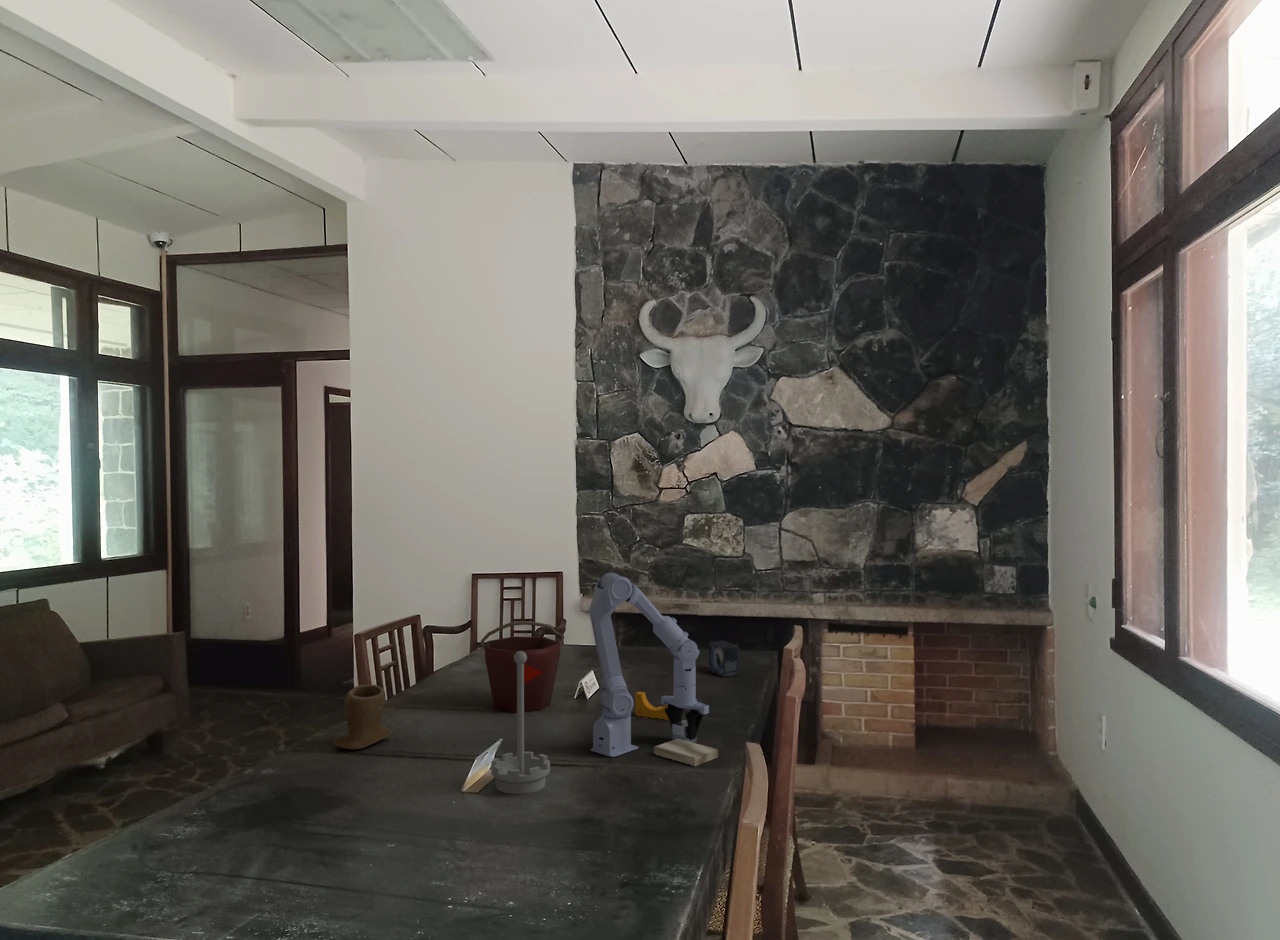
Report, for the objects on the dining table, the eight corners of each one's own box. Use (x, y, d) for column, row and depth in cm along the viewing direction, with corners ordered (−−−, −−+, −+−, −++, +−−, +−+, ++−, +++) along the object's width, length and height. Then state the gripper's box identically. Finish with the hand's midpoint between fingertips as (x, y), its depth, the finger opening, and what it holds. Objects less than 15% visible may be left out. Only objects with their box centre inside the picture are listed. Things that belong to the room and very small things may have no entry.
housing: (684, 746, 222) (684, 727, 222) (672, 743, 225) (672, 723, 225) (696, 742, 226) (696, 722, 226) (684, 738, 229) (684, 719, 229)
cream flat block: (695, 766, 207) (694, 758, 207) (654, 754, 216) (654, 746, 216) (718, 757, 214) (718, 748, 214) (677, 745, 223) (677, 737, 223)
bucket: (568, 697, 270) (568, 616, 270) (555, 717, 248) (554, 629, 248) (491, 695, 273) (491, 615, 273) (471, 715, 251) (470, 628, 251)
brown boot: (362, 756, 215) (362, 695, 215) (327, 749, 221) (326, 689, 221) (404, 738, 229) (404, 681, 229) (370, 732, 234) (370, 677, 234)
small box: (707, 671, 304) (707, 641, 304) (723, 669, 307) (723, 639, 307) (722, 678, 295) (722, 647, 295) (739, 676, 297) (739, 645, 297)
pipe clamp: (679, 717, 249) (679, 694, 249) (673, 721, 245) (673, 698, 245) (641, 712, 254) (641, 690, 254) (635, 716, 250) (635, 693, 250)
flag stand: (494, 798, 188) (494, 659, 188) (488, 777, 200) (488, 647, 200) (554, 792, 191) (554, 655, 191) (544, 772, 204) (544, 643, 204)
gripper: (716, 686, 224) (716, 739, 224) (673, 677, 233) (673, 727, 234) (699, 691, 218) (699, 745, 219) (655, 681, 228) (655, 733, 228)
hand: (684, 736), depth 226 cm, fingers open, 5 cm apart
